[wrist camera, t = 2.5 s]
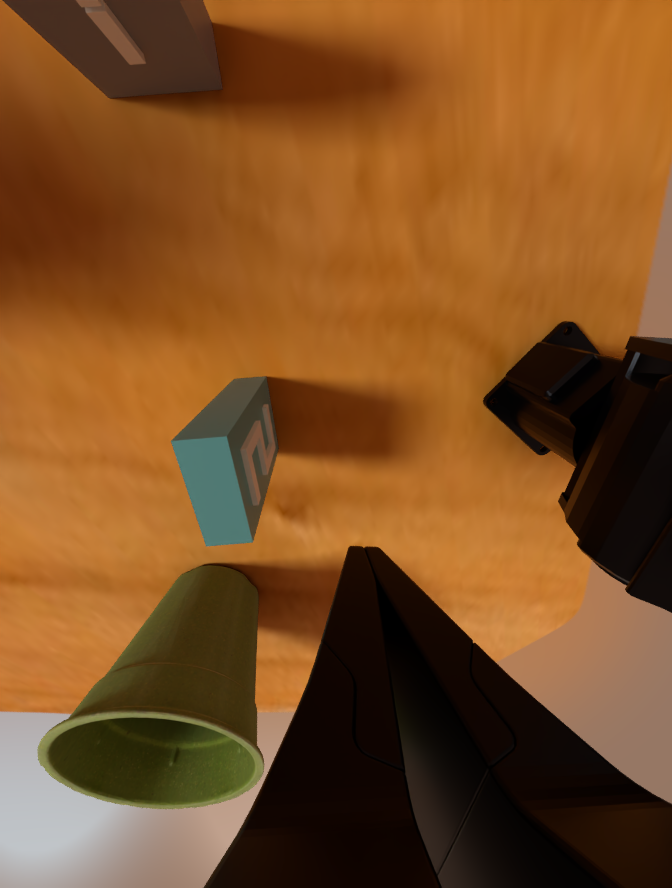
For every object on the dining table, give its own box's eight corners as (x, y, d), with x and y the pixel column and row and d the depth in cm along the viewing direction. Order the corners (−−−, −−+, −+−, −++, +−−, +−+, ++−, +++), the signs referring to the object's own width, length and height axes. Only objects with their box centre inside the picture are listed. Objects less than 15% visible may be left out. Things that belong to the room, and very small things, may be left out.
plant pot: (121, 551, 25) (-16, 729, 15) (268, 533, 25) (232, 700, 15) (173, 643, 30) (98, 821, 20) (295, 628, 30) (282, 801, 20)
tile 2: (270, 375, 19) (233, 435, 11) (282, 448, 22) (258, 541, 13) (230, 379, 19) (164, 441, 11) (246, 451, 22) (200, 546, 13)
